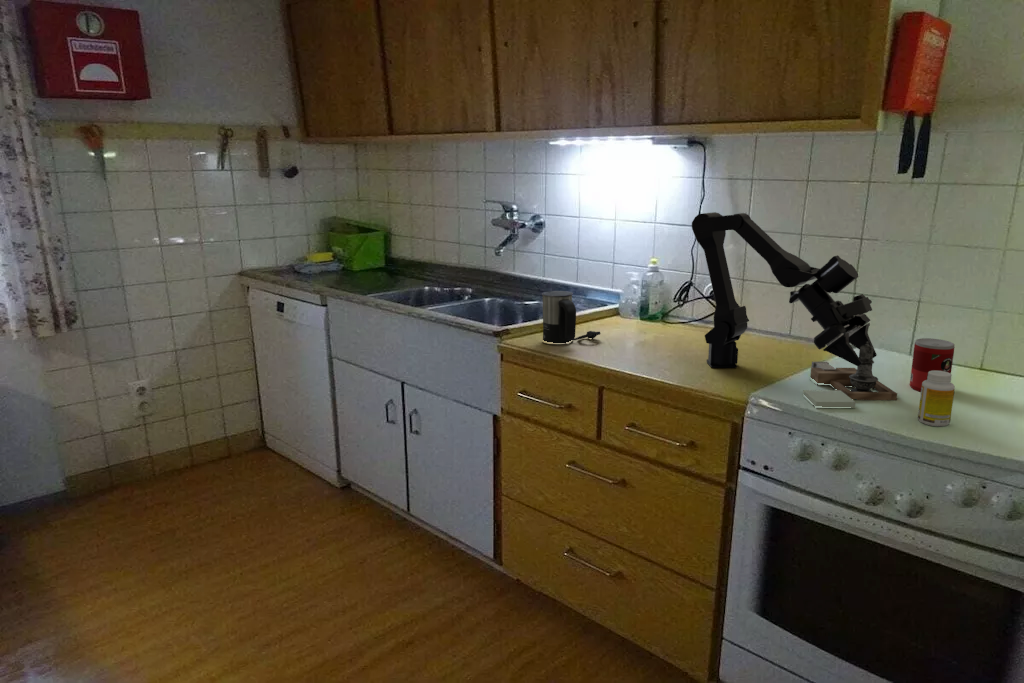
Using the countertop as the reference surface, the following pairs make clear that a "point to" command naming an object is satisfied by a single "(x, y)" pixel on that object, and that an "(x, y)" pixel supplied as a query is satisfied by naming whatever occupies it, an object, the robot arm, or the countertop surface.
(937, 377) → the supplement bottle
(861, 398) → the brown wooden tray
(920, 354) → the canned food
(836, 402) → the grey square slab
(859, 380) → the dark grey tall figure
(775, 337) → the countertop surface
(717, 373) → the countertop surface
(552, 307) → the milk frother
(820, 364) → the key bar
